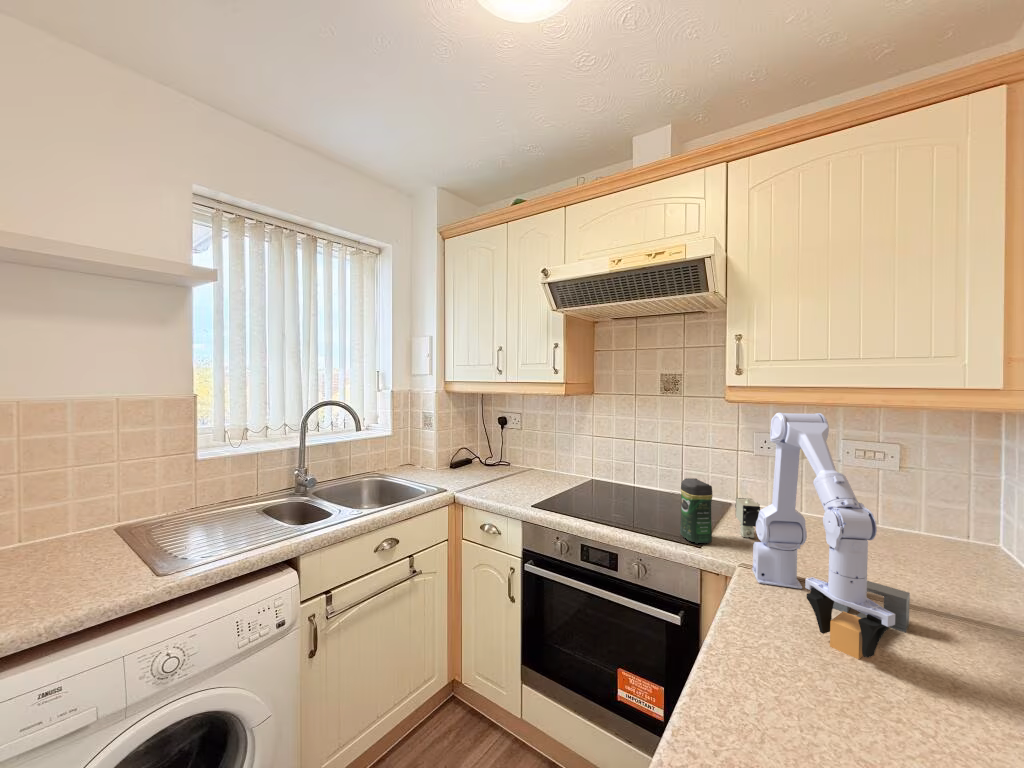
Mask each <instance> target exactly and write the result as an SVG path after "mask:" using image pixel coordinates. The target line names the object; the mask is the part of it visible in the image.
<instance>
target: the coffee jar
mask: <svg viewBox="0 0 1024 768" xmlns="http://www.w3.org/2000/svg"><path fill="white" fill-rule="evenodd" d="M680 485H681V486H680V496H681V505H680V506H681V509H680V527H679V533H680V534H679V535H680V536H681V535H682V536H683V537H684V538H683V537H682V536H681V537H682V538H683V539H685V538H686V539H687V540H689V541H692V542H695V543H694V544H698V543H707V544H710V543H711V542H712V541H713V534H712V533H713V531H712V530H713V529H712V528H713V527H712V503H713V502H712V500H713V487H712V485H710V484H708V483H706V482H704V481H702V480H700V479H698V478H695V477H692V478H684V479H683V480H681V484H680ZM686 539H685V540H686ZM687 540H686V541H687ZM689 541H688V542H689Z"/></svg>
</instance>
